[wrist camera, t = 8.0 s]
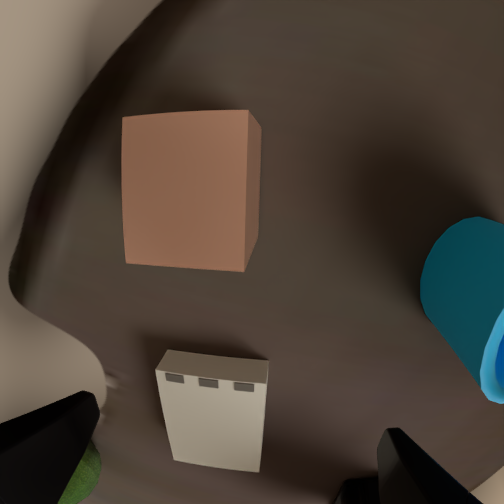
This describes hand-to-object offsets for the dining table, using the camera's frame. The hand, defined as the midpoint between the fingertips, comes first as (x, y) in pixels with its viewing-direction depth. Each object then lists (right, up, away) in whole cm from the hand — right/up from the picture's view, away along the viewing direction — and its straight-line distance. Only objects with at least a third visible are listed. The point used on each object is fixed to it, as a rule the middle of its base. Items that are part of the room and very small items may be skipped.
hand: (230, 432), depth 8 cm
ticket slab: (-2, -7, +14) cm, 15 cm away
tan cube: (-1, +9, +9) cm, 13 cm away
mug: (+16, +2, +10) cm, 19 cm away
